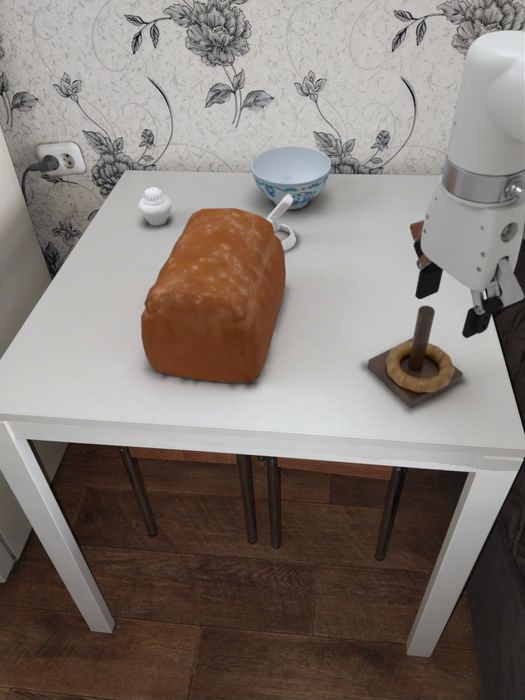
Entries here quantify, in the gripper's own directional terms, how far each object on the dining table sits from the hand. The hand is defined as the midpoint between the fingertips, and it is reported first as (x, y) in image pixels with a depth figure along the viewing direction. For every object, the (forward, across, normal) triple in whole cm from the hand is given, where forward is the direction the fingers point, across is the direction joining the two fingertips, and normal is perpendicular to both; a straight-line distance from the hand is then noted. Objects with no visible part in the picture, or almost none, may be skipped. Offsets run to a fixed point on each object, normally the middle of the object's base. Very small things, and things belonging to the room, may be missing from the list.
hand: (449, 312), depth 70 cm
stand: (+14, +4, 0) cm, 14 cm away
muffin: (+14, +60, +15) cm, 63 cm away
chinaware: (+14, +52, -10) cm, 55 cm away
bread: (+14, +27, +18) cm, 35 cm away
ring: (+11, +3, 0) cm, 12 cm away
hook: (+14, +42, 0) cm, 44 cm away
